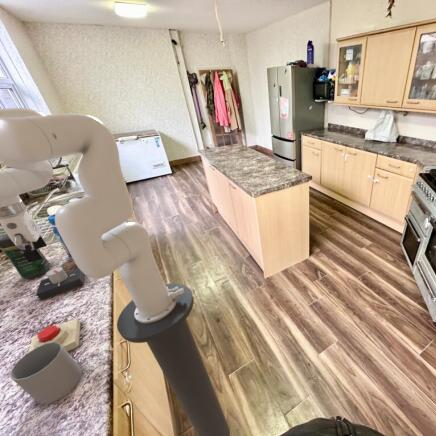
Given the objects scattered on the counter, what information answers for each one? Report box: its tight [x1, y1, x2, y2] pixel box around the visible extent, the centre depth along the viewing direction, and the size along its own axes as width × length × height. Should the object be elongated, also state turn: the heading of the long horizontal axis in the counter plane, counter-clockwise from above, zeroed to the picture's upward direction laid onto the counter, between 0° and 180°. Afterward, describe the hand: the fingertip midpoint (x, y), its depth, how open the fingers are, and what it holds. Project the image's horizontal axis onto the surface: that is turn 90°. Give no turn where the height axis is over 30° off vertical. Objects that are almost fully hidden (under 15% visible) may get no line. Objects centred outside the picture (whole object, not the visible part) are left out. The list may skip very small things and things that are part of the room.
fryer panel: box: [35, 267, 85, 301], centre depth 87 cm, size 12×9×3 cm
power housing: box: [27, 317, 81, 353], centre depth 65 cm, size 10×10×4 cm
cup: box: [9, 342, 83, 406], centre depth 54 cm, size 8×8×10 cm
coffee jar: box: [0, 233, 51, 280], centre depth 92 cm, size 10×8×19 cm
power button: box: [37, 324, 60, 342], centre depth 64 cm, size 4×4×2 cm
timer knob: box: [45, 266, 68, 284], centre depth 86 cm, size 4×4×4 cm
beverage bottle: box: [47, 213, 73, 260], centre depth 102 cm, size 8×8×20 cm
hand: (38, 253), depth 81 cm, fingers open, 9 cm apart
